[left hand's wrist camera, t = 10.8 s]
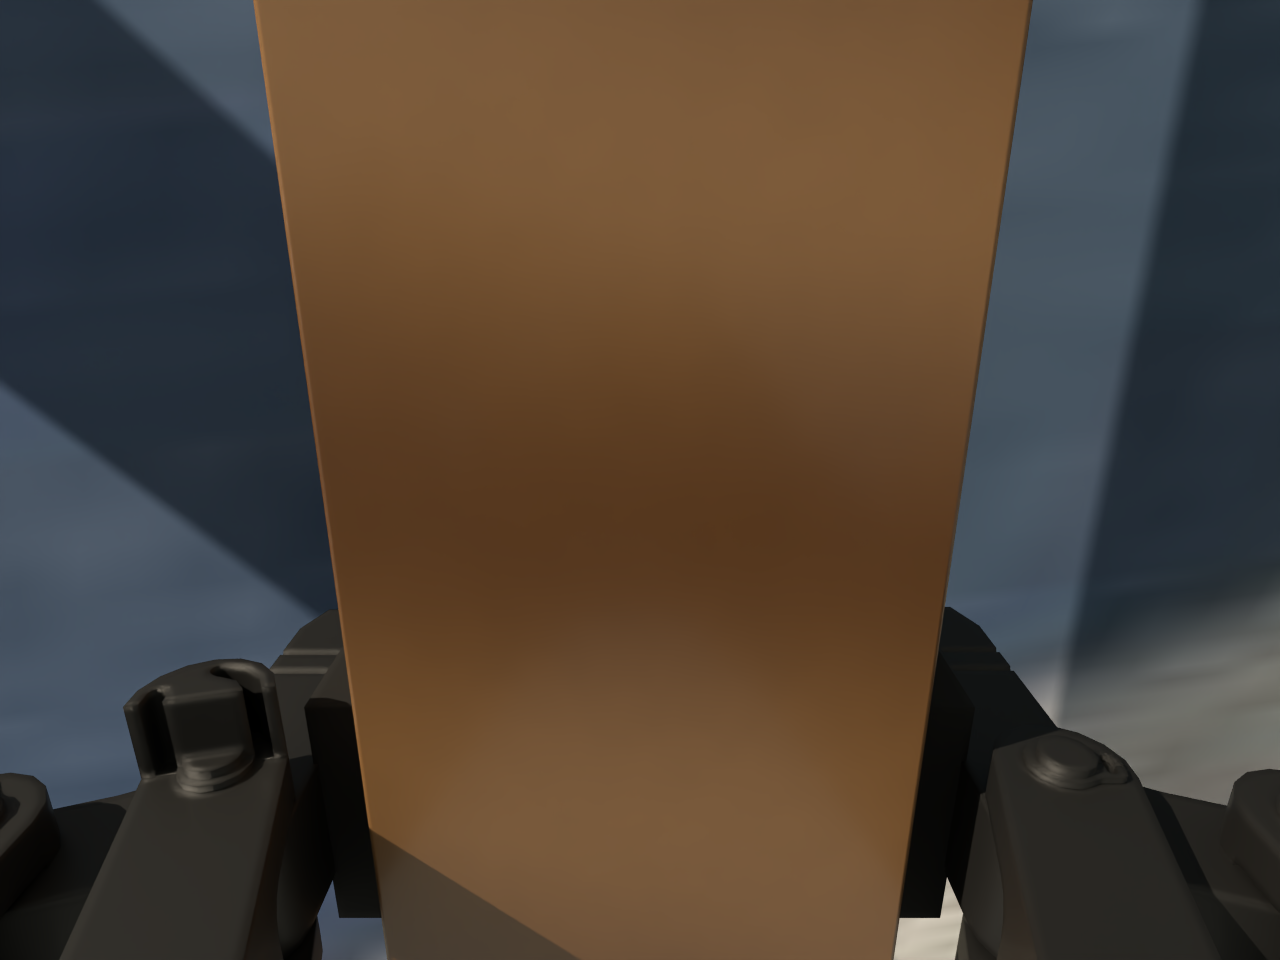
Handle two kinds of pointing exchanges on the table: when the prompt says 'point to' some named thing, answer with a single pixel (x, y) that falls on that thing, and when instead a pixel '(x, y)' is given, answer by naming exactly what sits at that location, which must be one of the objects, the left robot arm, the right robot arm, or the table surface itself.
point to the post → (641, 445)
